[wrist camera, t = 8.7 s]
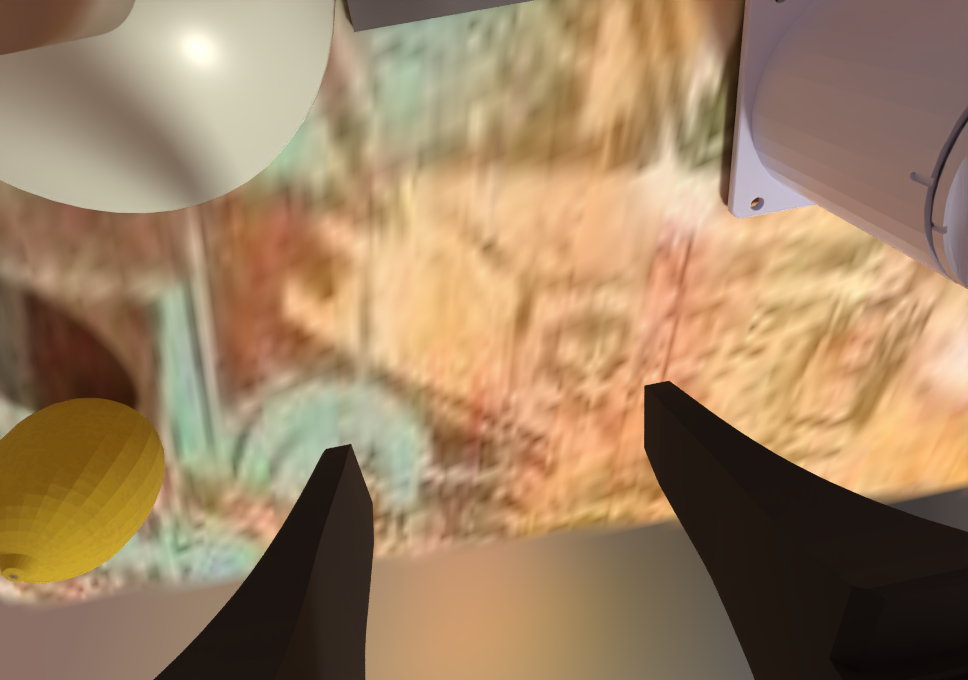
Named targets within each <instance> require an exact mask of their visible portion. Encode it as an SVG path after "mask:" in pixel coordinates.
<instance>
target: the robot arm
mask: <svg viewBox="0 0 968 680" xmlns="http://www.w3.org/2000/svg"><path fill="white" fill-rule="evenodd" d="M758 197H759V201H758V203H757V204H756V205H755V206H753V207H751V203H752V201H753V200H754V199H755V198H758ZM812 205H818V206H820V207H822V208H824V209H826V210H827V211H829V212H831V213H833V214H834V215H836V216H838V217H840V218H842V219H843V220H845V221H847V222H849V223H850V224H852V225H854V226H856V227H857V228H859V229H861V230H863V231H865V232H866V233H868V234H870V235H872V236H873V237H875V238H877V239H879V240H881V241H882V242H884V243H886V244H888V245H889V246H891V247H893V248H895V249H897V250H898V251H900V252H902V253H904V254H905V255H907V256H909V257H911V258H913V259H914V260H916V261H918V262H920V263H921V264H923V265H925V266H927V267H928V268H930V269H932V270H934V271H936V272H937V273H939V274H941V275H943V276H944V277H946V278H948V279H950V280H952V281H953V282H955V283H957V284H960V285H961V286H963V287H965V288H966V289H968V0H778V1H777V2H776V1H775V0H746V1H745V12H744V24H743V35H742V47H741V58H740V70H739V81H738V93H737V104H736V116H735V128H734V139H733V151H732V162H731V174H730V185H729V197H728V210H729V212H730V213H731V214H732V215H733V216H735V217H737V218H747V217H752V216H757V215H763V214H768V213H774V212H779V211H785V210H790V209H796V208H801V207H806V206H812ZM644 448H645V451H646V453H647V456H648V458H649V461H650V463H651V466H652V468H653V471H654V473H655V476H656V478H657V480H658V483H659V485H660V487H661V488H662V490H663V492H664V494H665V496H666V497H667V499H668V501H669V503H670V505H671V506H672V508H673V510H674V512H675V513H676V515H677V517H678V519H679V520H680V522H681V524H682V526H683V527H684V529H685V531H686V533H687V534H688V536H689V538H690V540H691V541H692V543H693V545H694V547H695V548H696V550H697V552H698V554H699V555H700V557H701V559H702V561H703V563H704V564H705V566H706V568H707V570H708V572H709V574H710V576H711V578H712V580H713V582H714V585H715V587H716V589H717V591H718V593H719V596H720V598H721V600H722V603H723V605H724V607H725V609H726V611H727V614H728V616H729V618H730V621H731V623H732V626H733V628H734V630H735V633H736V635H737V637H738V640H739V642H740V644H741V647H742V649H743V651H744V654H745V656H746V659H747V661H748V663H749V666H750V668H751V671H752V674H753V676H754V679H755V680H968V532H966V531H963V530H960V529H956V528H952V527H950V526H946V525H943V524H939V523H936V522H932V521H929V520H926V519H923V518H920V517H917V516H915V515H912V514H909V513H906V512H903V511H901V510H898V509H895V508H892V507H889V506H887V505H884V504H881V503H879V502H876V501H874V500H871V499H869V498H866V497H864V496H861V495H859V494H857V493H854V492H852V491H850V490H847V489H845V488H843V487H841V486H838V485H836V484H834V483H832V482H829V481H827V480H825V479H823V478H821V477H819V476H817V475H815V474H813V473H811V472H809V471H807V470H805V469H803V468H801V467H799V466H797V465H795V464H793V463H791V462H789V461H788V460H786V459H784V458H782V457H781V456H779V455H777V454H775V453H774V452H772V451H770V450H769V449H767V448H765V447H764V446H762V445H760V444H759V443H757V442H755V441H754V440H752V439H750V438H749V437H747V436H746V435H744V434H743V433H741V432H740V431H738V430H737V429H735V428H734V427H732V426H731V425H729V424H728V423H726V422H725V421H724V420H722V419H721V418H719V417H718V416H716V415H715V414H714V413H712V412H711V411H709V410H708V409H707V408H705V407H704V406H703V405H701V404H700V403H699V402H697V401H696V400H694V399H693V398H692V397H690V396H689V395H688V394H686V393H685V392H684V391H682V390H681V389H680V388H678V387H677V386H675V385H674V384H673V383H671V382H670V381H666V382H661V383H656V384H651V385H645V387H644ZM373 547H374V528H373V504H372V500H371V497H370V495H369V492H368V489H367V486H366V484H365V481H364V478H363V475H362V473H361V470H360V467H359V465H358V462H357V459H356V456H355V454H354V451H353V448H352V445H351V444H349V445H344V446H339V447H334V448H329V449H326V450H325V451H324V452H323V454H322V456H321V458H320V459H319V461H318V463H317V465H316V467H315V469H314V471H313V473H312V475H311V477H310V479H309V480H308V482H307V484H306V486H305V488H304V490H303V491H302V493H301V495H300V497H299V499H298V500H297V502H296V504H295V505H294V507H293V509H292V511H291V512H290V514H289V516H288V517H287V519H286V521H285V522H284V524H283V526H282V527H281V529H280V530H279V532H278V533H277V535H276V537H275V538H274V540H273V541H272V543H271V544H270V546H269V547H268V549H267V550H266V552H265V553H264V555H263V556H262V558H261V559H260V561H259V562H258V563H257V565H256V566H255V568H254V569H253V570H252V572H251V573H250V574H249V576H248V577H247V578H246V580H245V581H244V582H243V584H242V585H241V586H240V588H239V589H238V590H237V591H236V593H235V594H234V595H233V596H232V597H231V599H230V600H229V601H228V602H227V603H226V605H225V606H224V607H223V608H222V610H220V612H219V613H218V614H217V615H216V616H215V617H214V618H213V620H212V621H211V622H210V623H209V624H208V625H207V626H206V627H205V629H204V630H203V631H202V632H201V633H200V634H199V635H198V636H197V637H196V638H195V639H194V640H193V641H192V643H190V645H189V646H188V647H187V648H186V649H185V650H184V651H183V652H182V653H181V654H180V655H179V656H178V657H177V658H176V659H175V660H174V661H173V662H172V663H171V664H169V665H168V666H167V667H166V668H165V669H164V670H163V671H162V672H161V673H160V674H159V675H158V676H157V677H156V678H155V679H154V680H365V642H366V641H365V640H366V626H367V615H368V603H369V592H370V582H371V570H372V559H373Z"/></svg>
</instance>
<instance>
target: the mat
mask: <svg viewBox="0 0 968 680" xmlns="http://www.w3.org/2000/svg"><path fill="white" fill-rule="evenodd" d="M527 1H532V0H347V3H348V7H349V11H350V16H351V20H352V24H353V28H354V32H357V31H362V30H368V29H374V28H379V27H385V26H391V25H396V24H402V23H408V22H413V21H419V20H425V19H430V18H436V17H442V16H447V15H453V14H459V13H464V12H470V11H476V10H481V9H487V8H493V7H498V6H504V5H510V4H515V3H521V2H527Z"/></svg>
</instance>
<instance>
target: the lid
mask: <svg viewBox="0 0 968 680" xmlns="http://www.w3.org/2000/svg"><path fill="white" fill-rule="evenodd" d="M334 17H335V0H0V180H1V181H3V182H6V183H8V184H10V185H12V186H14V187H16V188H19V189H21V190H24V191H27V192H30V193H33V194H35V195H38V196H41V197H44V198H47V199H50V200H53V201H57V202H61V203H65V204H69V205H73V206H77V207H81V208H86V209H94V210H101V211H108V212H119V213H151V212H161V211H171V210H176V209H181V208H185V207H189V206H194V205H198V204H201V203H204V202H206V201H209V200H212V199H214V198H217V197H219V196H222V195H225V194H226V193H228V192H230V191H232V190H234V189H235V188H237V187H239V186H241V185H242V184H244V183H246V182H248V181H249V180H250V179H252V178H253V177H254V176H255V175H257V174H258V173H259V172H260V171H262V170H263V169H264V168H266V167H267V166H268V165H269V164H270V163H271V162H272V161H273V160H274V159H275V158H276V157H277V156H278V155H279V154H280V152H281V151H282V150H283V149H284V148H285V147H286V146H287V145H288V143H289V142H290V141H291V139H292V138H293V136H294V135H295V133H296V132H297V130H298V129H299V127H300V126H301V124H302V123H303V122H304V120H305V119H306V117H307V115H308V113H309V111H310V109H311V107H312V105H313V103H314V101H315V99H316V97H317V94H318V92H319V89H320V86H321V83H322V80H323V77H324V74H325V71H326V68H327V65H328V60H329V55H330V49H331V44H332V38H333V33H334Z"/></svg>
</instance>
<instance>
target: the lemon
mask: <svg viewBox="0 0 968 680" xmlns="http://www.w3.org/2000/svg"><path fill="white" fill-rule="evenodd" d="M164 468H165V464H164V449H163V446H162V443H161V441H160V438H159V435H158V433H157V431H156V430H155V429H154V427H153V426H152V425H151V423H150V422H149V421H148V420H147V419H146V418H145V417H144V416H143V415H141V414H140V413H139V412H138V411H136V410H134V409H132V408H130V407H129V406H127V405H125V404H122V403H119V402H116V401H113V400H108V399H101V398H76V399H72V400H67V401H63V402H59V403H55V404H52V405H50V406H48V407H46V408H44V409H42V410H40V411H38V412H36V413H34V414H32V415H30V416H28V417H27V418H25V419H24V420H22V421H21V422H20V423H18V424H17V425H16V426H15V427H14V428H13V429H12V430H11V431H9V432H8V433H7V434H6V435H5V436H4V437H3V438H2V439H1V440H0V575H2V576H4V577H5V578H6V579H8V580H10V581H14V582H29V583H47V582H55V581H61V580H66V579H69V578H73V577H76V576H79V575H81V574H84V573H87V572H89V571H91V570H92V569H94V568H96V567H97V566H99V565H101V564H102V563H104V562H106V561H107V560H109V559H110V558H111V557H113V556H114V555H115V554H116V553H117V552H118V551H119V550H120V549H121V548H122V547H123V546H124V545H125V544H126V543H127V542H128V541H129V540H130V539H131V537H132V536H133V535H134V534H135V533H136V532H137V531H138V529H139V528H140V527H141V525H142V524H143V523H144V521H145V520H146V518H147V517H148V515H149V514H150V512H151V510H152V508H153V506H154V504H155V501H156V499H157V496H158V494H159V491H160V488H161V485H162V482H163V477H164Z"/></svg>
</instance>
